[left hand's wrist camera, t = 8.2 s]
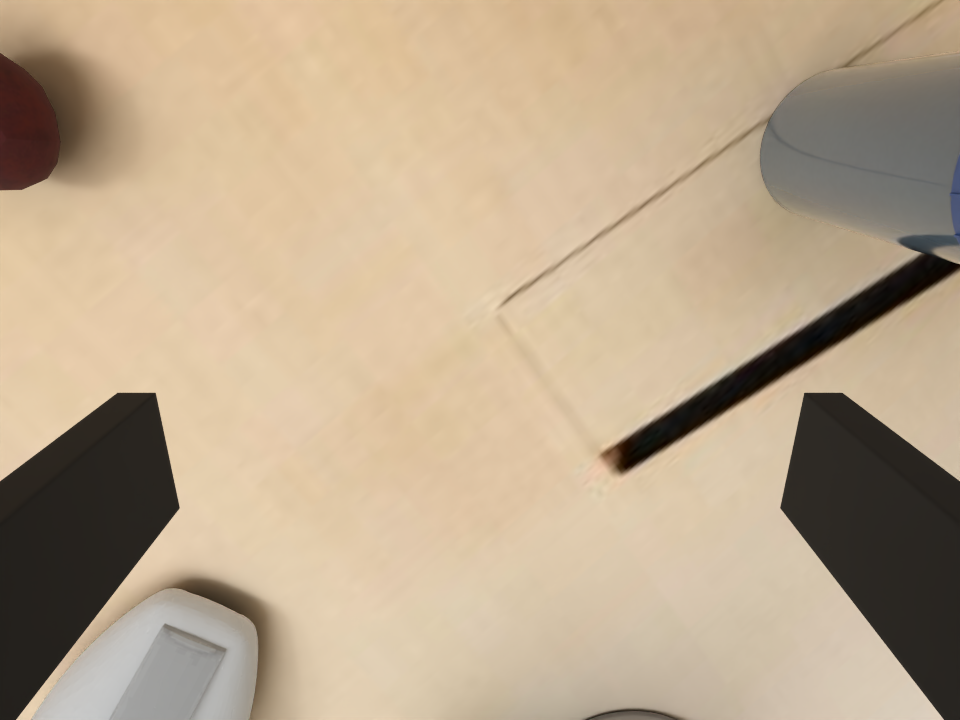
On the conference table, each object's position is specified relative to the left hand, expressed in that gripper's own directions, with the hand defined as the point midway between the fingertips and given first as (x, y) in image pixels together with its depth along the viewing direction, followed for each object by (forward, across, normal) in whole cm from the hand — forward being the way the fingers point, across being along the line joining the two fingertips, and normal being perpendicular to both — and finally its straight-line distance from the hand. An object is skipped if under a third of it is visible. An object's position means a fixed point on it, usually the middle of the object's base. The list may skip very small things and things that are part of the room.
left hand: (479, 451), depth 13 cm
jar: (+28, -21, -5) cm, 35 cm away
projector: (+28, +27, +38) cm, 54 cm away
